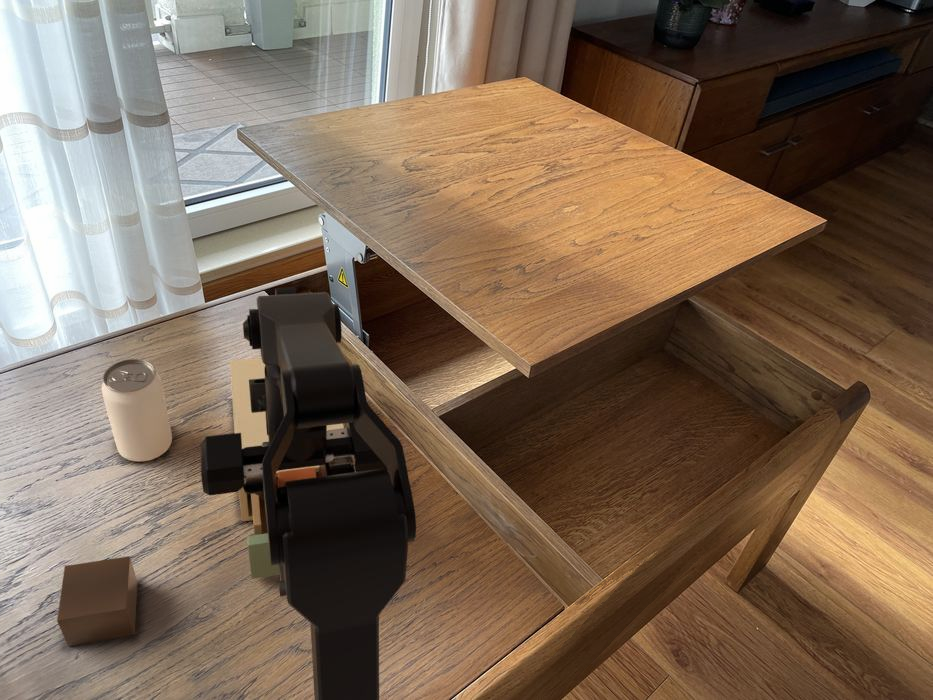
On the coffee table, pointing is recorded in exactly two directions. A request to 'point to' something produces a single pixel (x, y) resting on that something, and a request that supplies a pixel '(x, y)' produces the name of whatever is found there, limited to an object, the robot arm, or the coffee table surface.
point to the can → (136, 410)
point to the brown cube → (98, 601)
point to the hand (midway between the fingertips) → (299, 503)
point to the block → (295, 475)
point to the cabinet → (251, 417)
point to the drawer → (262, 545)
